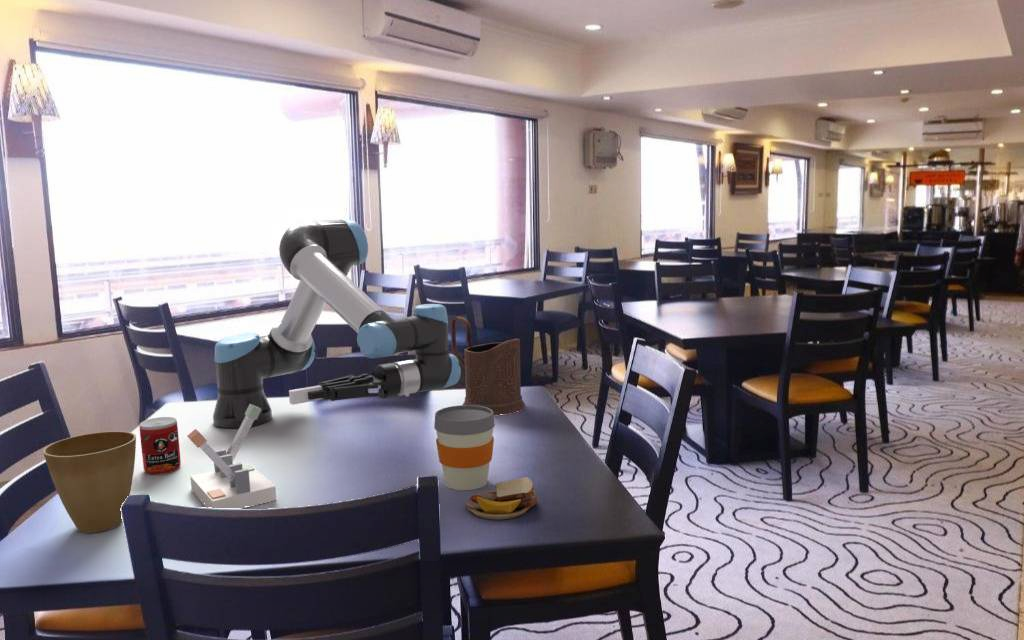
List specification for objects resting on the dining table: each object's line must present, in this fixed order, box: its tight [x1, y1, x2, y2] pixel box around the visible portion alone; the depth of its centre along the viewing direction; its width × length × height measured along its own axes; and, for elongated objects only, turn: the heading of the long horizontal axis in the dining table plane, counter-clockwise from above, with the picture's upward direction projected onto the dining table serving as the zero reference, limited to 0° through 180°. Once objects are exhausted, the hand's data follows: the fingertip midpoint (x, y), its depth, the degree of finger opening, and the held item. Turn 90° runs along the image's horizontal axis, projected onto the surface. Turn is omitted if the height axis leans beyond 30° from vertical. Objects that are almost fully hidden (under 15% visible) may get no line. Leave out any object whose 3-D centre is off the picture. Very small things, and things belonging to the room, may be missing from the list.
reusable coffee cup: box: [433, 404, 496, 491], centre depth 157 cm, size 13×13×15 cm
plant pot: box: [42, 430, 137, 534], centre depth 139 cm, size 15×15×16 cm
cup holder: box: [450, 316, 527, 416], centre depth 215 cm, size 18×24×25 cm
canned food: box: [139, 416, 182, 476], centre depth 169 cm, size 8×8×11 cm
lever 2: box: [226, 404, 262, 462], centre depth 158 cm, size 2×2×15 cm
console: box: [190, 448, 277, 509], centre depth 153 cm, size 17×12×7 cm
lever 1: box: [186, 428, 236, 485], centre depth 145 cm, size 2×2×15 cm
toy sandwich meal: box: [466, 476, 538, 520], centre depth 145 cm, size 12×14×5 cm
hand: (290, 397), depth 153 cm, fingers closed
